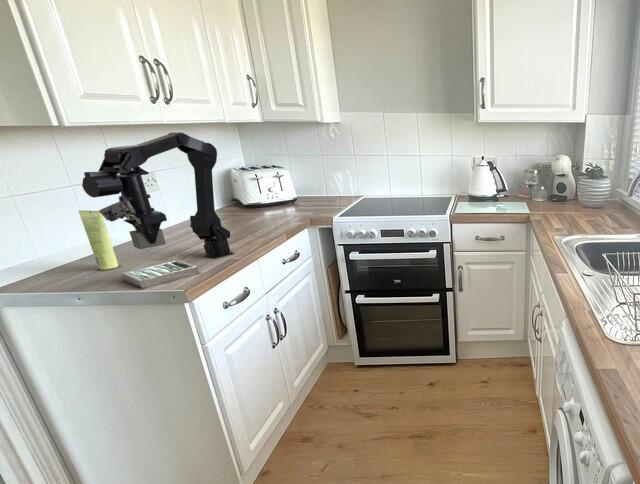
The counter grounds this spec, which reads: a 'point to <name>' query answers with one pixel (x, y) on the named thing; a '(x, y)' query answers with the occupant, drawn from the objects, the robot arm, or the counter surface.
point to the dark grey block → (146, 239)
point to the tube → (99, 239)
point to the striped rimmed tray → (159, 273)
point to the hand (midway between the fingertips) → (149, 242)
